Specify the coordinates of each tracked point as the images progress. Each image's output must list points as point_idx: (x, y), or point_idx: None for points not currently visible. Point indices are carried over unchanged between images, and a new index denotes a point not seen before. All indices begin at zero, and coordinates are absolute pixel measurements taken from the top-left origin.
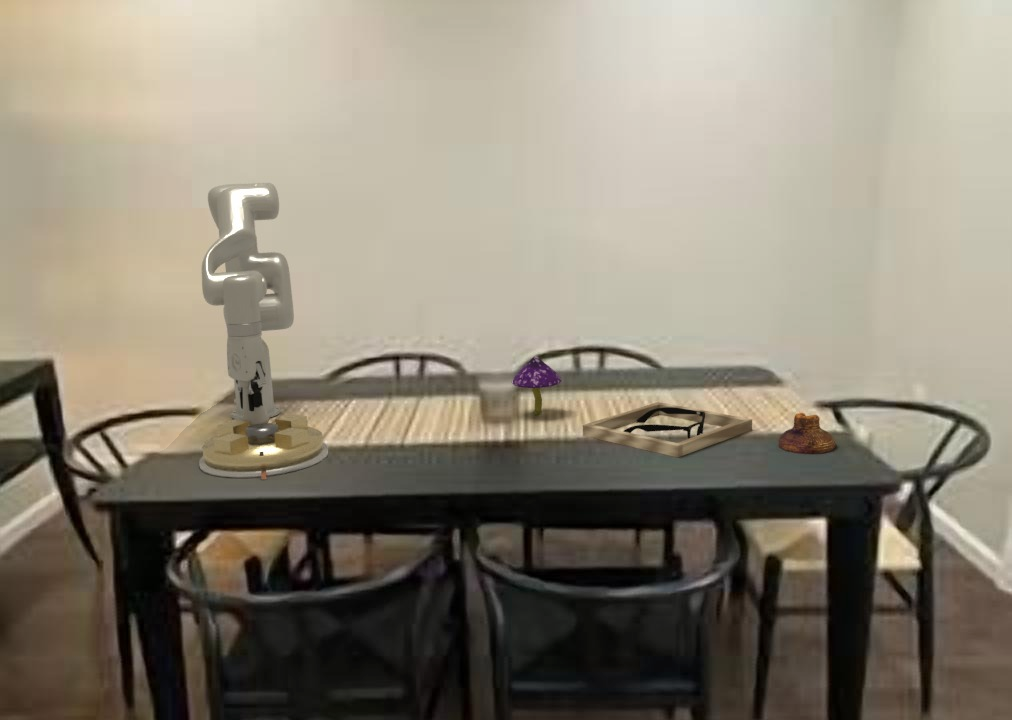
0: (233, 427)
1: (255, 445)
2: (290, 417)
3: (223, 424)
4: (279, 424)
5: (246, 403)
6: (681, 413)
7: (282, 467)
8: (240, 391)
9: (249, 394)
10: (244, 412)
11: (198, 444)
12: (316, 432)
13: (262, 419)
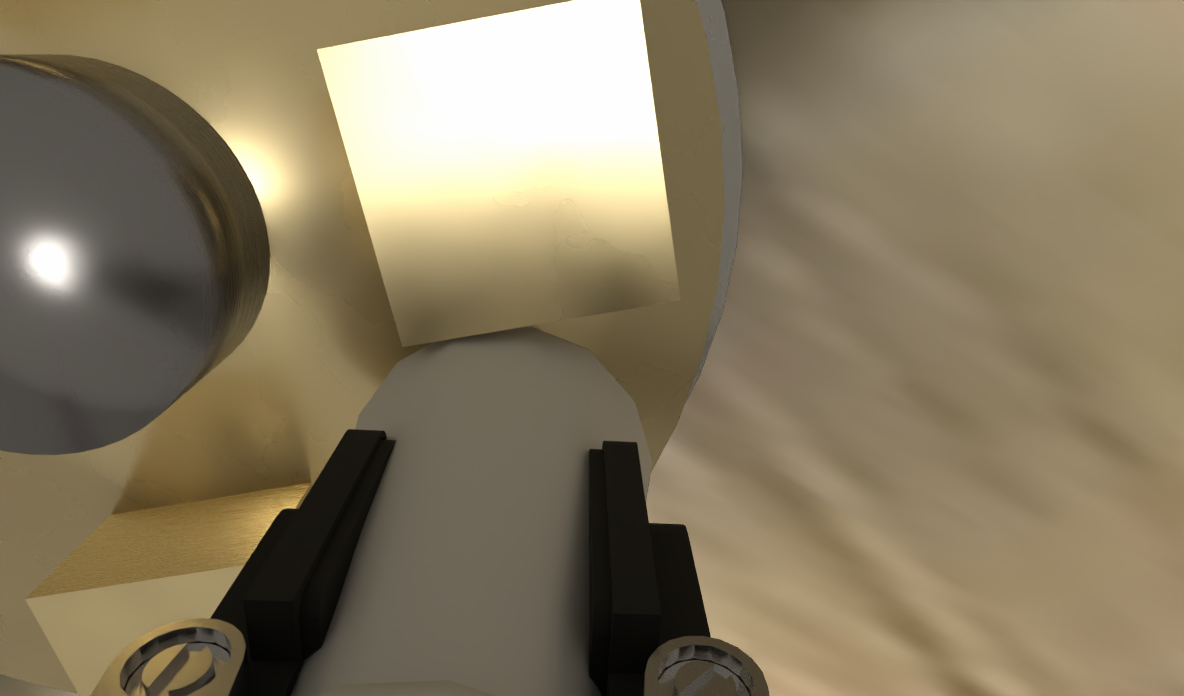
0: (323, 58)
1: None
2: None
3: (559, 42)
4: (227, 537)
5: (413, 478)
6: None
7: None
8: (676, 648)
9: (249, 612)
10: (505, 394)
11: (1128, 92)
12: (9, 648)
13: None
